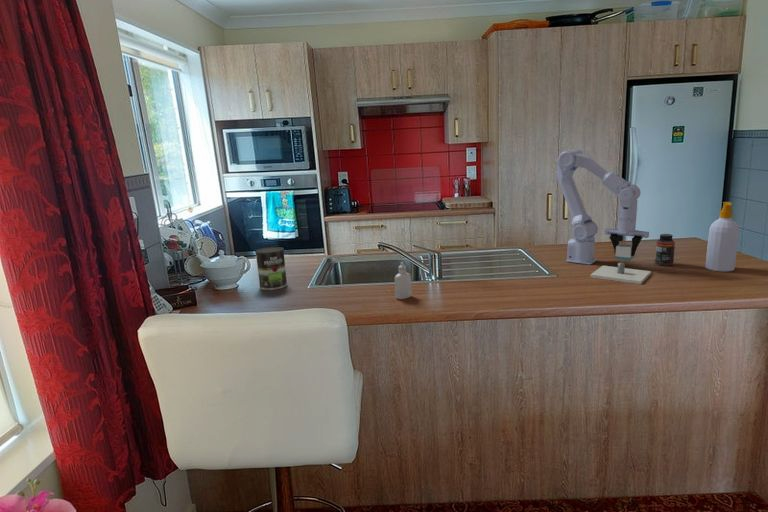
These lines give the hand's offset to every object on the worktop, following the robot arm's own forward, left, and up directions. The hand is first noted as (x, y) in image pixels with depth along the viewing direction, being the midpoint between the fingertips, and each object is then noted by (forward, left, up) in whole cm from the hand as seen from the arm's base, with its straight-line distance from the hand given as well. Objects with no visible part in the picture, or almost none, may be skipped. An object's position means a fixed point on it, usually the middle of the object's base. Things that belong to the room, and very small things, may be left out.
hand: (624, 254), depth 173 cm
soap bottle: (+28, +13, -5) cm, 31 cm away
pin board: (+2, -12, -5) cm, 13 cm away
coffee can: (-99, -87, -5) cm, 132 cm away
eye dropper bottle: (-49, -71, -5) cm, 86 cm away
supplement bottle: (+11, +11, -5) cm, 16 cm away
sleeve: (0, 0, -1) cm, 1 cm away
